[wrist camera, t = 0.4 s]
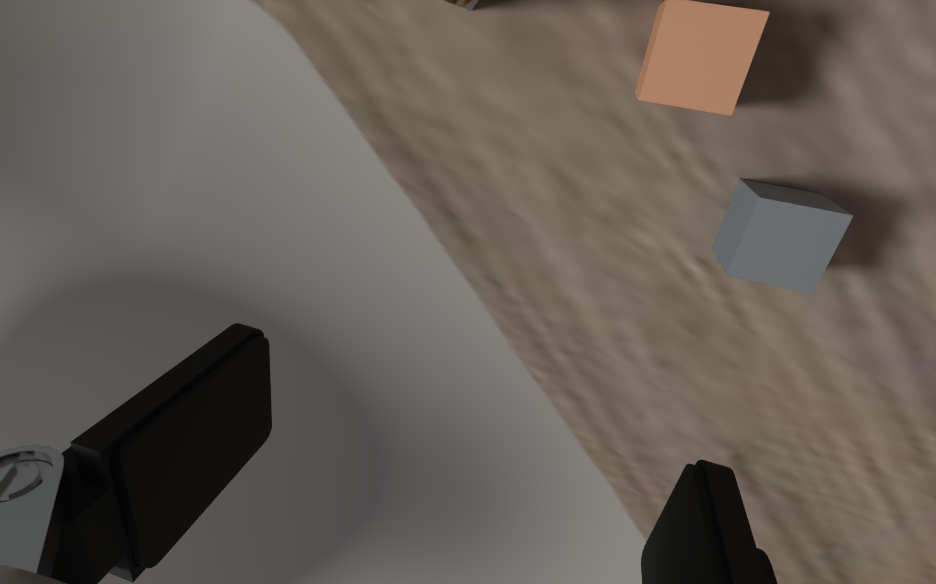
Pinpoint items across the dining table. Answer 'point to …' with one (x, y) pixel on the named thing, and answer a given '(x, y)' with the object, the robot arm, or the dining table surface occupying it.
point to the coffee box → (464, 3)
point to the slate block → (779, 235)
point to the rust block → (699, 55)
